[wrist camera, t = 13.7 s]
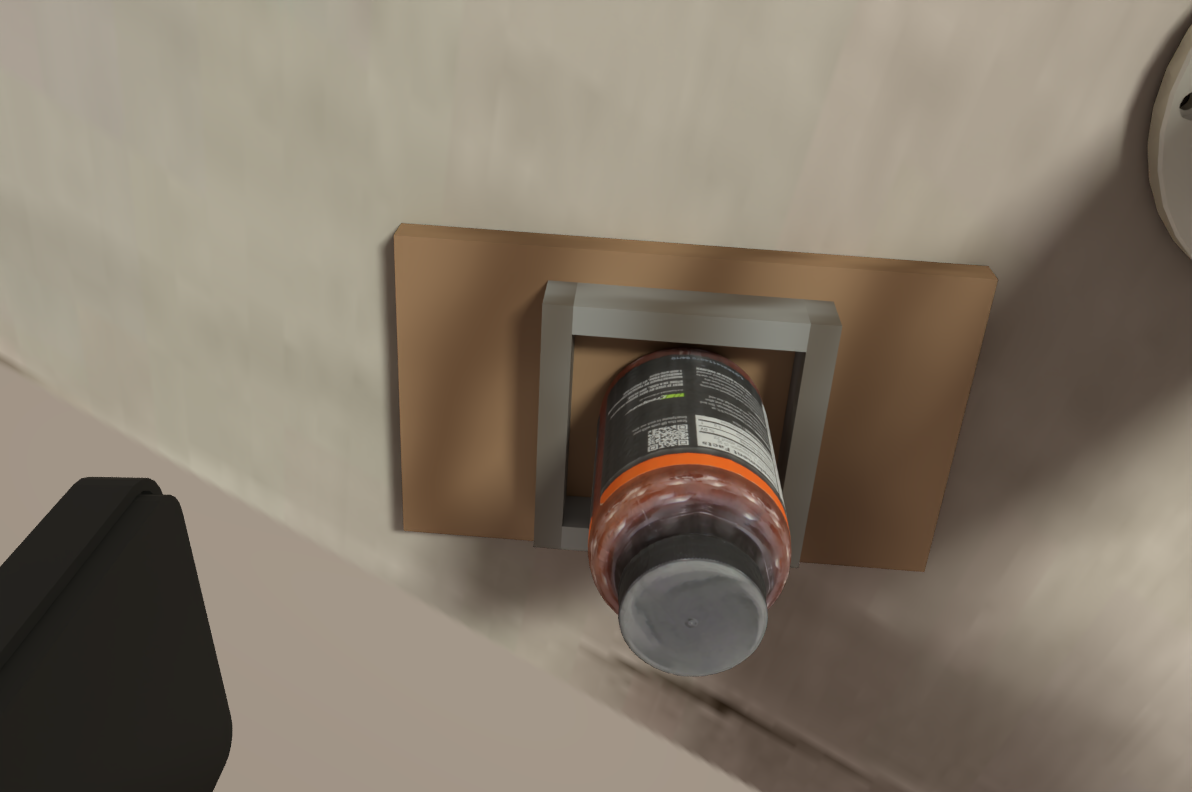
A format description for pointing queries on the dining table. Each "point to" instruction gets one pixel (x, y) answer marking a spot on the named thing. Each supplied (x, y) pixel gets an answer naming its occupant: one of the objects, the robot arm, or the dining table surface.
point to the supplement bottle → (687, 511)
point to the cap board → (666, 320)
